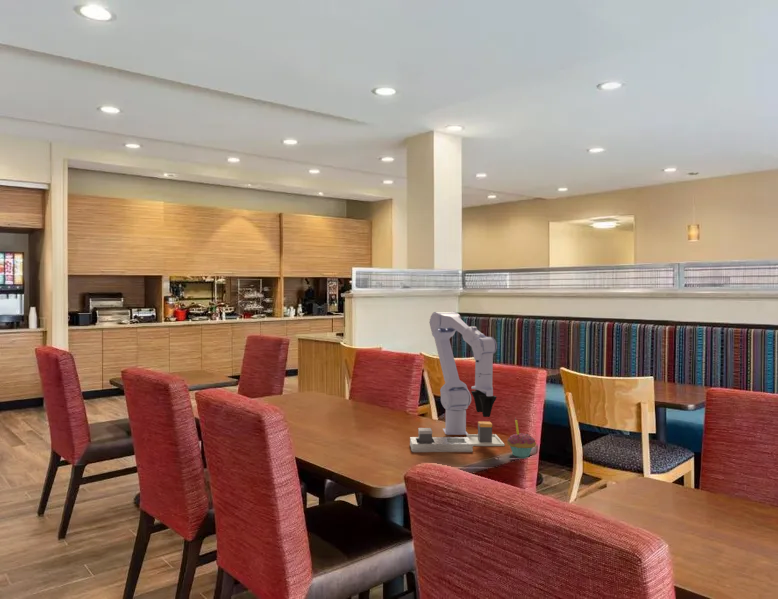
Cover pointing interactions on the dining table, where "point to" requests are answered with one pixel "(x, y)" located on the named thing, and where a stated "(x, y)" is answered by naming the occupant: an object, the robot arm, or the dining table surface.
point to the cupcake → (521, 443)
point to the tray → (495, 442)
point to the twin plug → (424, 435)
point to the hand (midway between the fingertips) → (483, 414)
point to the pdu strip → (442, 445)
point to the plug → (485, 431)
